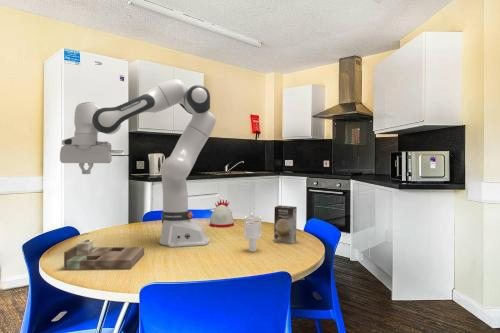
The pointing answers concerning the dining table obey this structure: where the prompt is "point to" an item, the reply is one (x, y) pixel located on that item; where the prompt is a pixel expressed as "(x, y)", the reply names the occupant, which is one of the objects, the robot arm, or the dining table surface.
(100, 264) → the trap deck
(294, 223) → the coffee box
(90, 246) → the cube
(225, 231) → the dining table surface
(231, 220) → the kitchen timer
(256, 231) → the clear glass tall piece
